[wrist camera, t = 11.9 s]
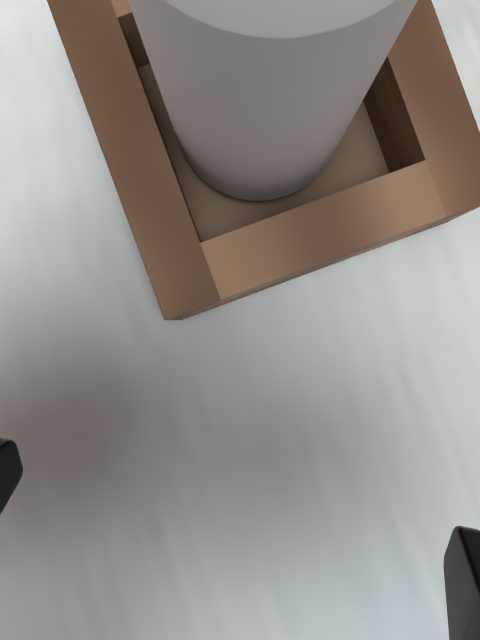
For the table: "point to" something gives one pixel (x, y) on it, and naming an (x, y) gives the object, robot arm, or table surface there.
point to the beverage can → (265, 82)
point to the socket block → (285, 212)
